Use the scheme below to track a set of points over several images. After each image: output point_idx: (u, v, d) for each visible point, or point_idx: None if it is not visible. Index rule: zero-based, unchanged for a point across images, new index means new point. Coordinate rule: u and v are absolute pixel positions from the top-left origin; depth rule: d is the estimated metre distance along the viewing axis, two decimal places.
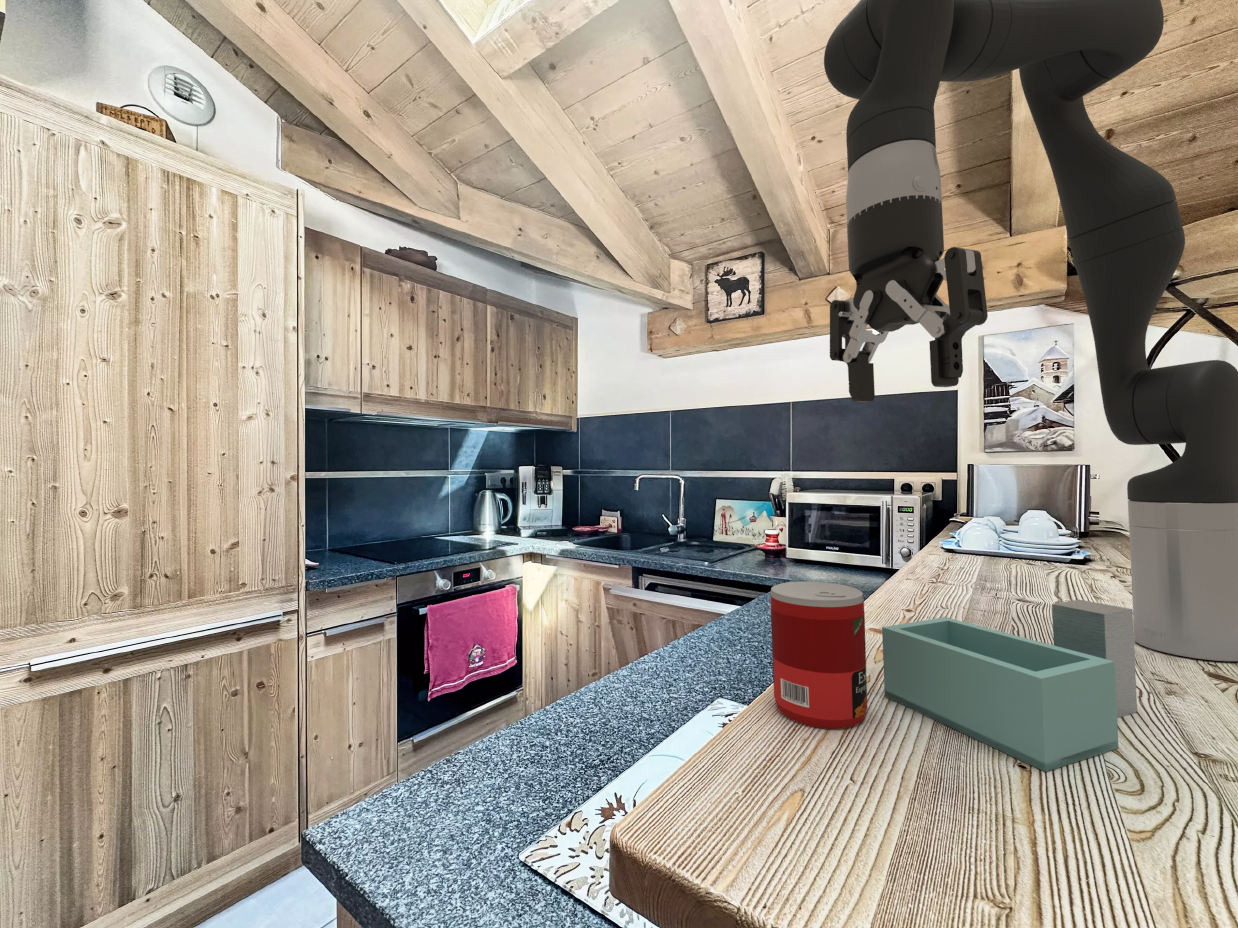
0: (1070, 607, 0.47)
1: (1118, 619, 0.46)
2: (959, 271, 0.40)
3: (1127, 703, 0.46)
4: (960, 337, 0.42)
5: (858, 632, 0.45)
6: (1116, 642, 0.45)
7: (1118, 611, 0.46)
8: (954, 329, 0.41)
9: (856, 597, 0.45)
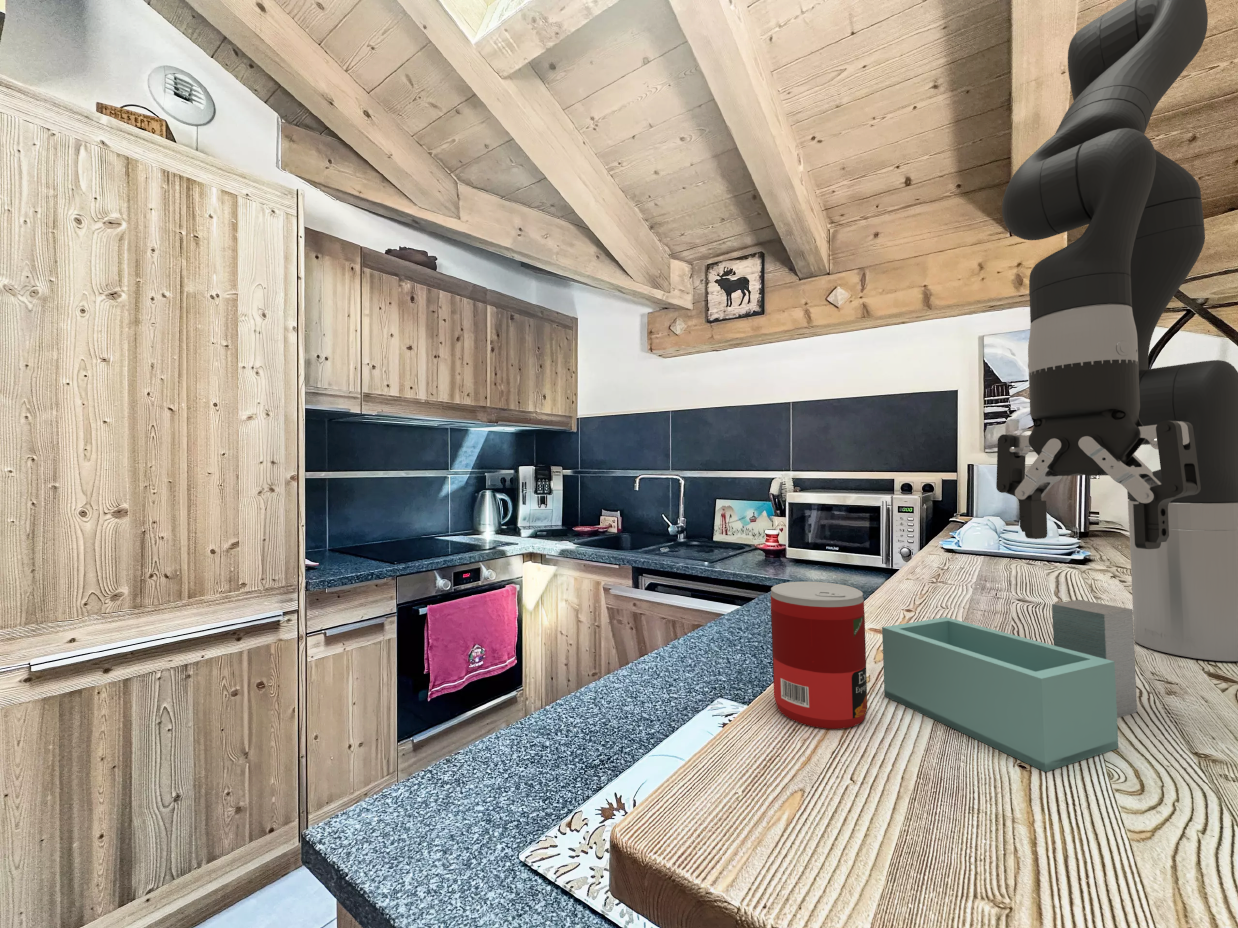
0: (1070, 607, 0.47)
1: (1118, 619, 0.46)
2: (1176, 446, 0.41)
3: (1127, 703, 0.46)
4: (1167, 503, 0.43)
5: (858, 632, 0.45)
6: (1116, 642, 0.45)
7: (1118, 611, 0.46)
8: (1165, 498, 0.42)
9: (856, 597, 0.45)
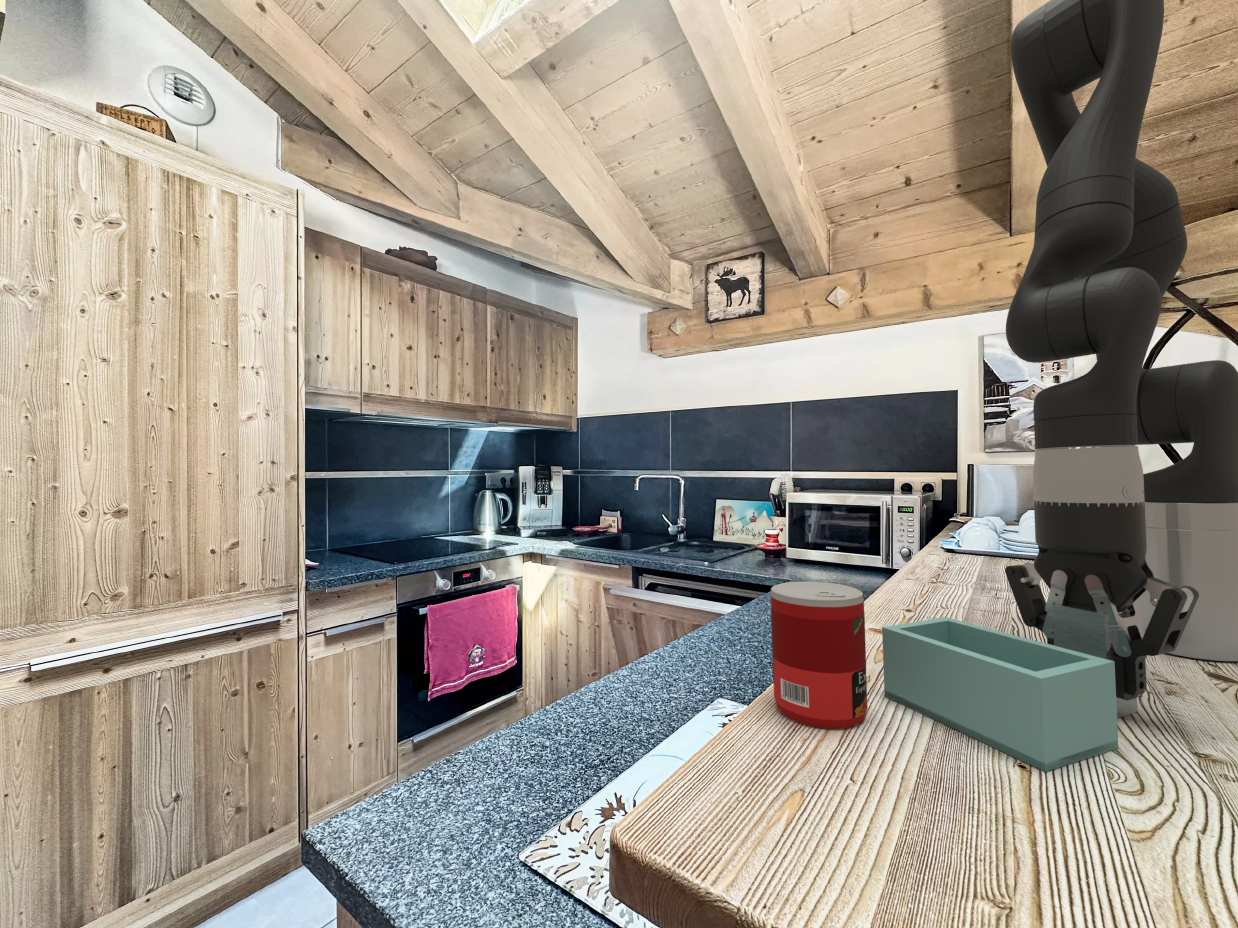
0: (1070, 607, 0.47)
1: None
2: (1172, 616, 0.41)
3: (1127, 703, 0.46)
4: (1144, 657, 0.44)
5: (858, 632, 0.45)
6: None
7: None
8: (1142, 655, 0.43)
9: (856, 597, 0.45)
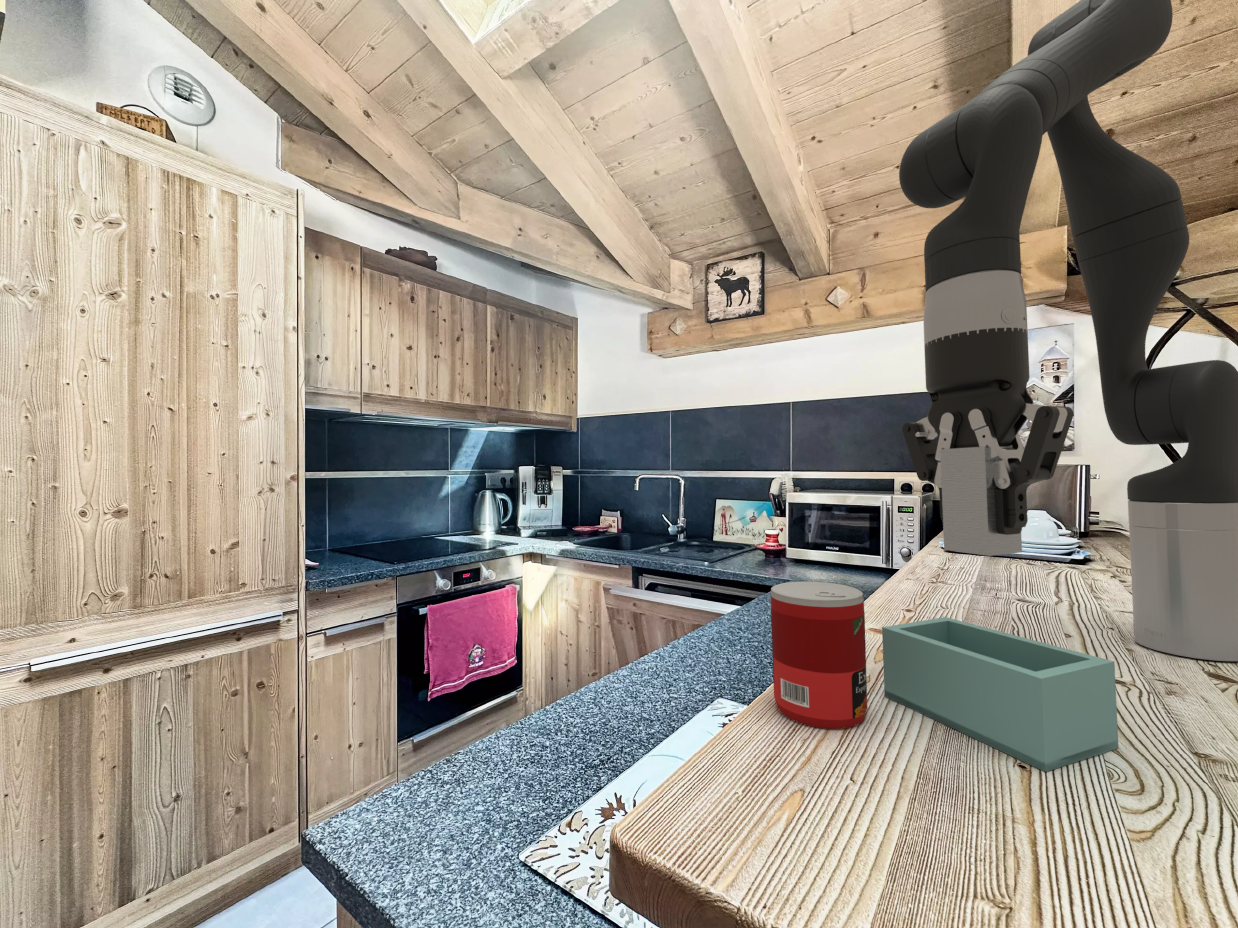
0: None
1: None
2: (1045, 434, 0.40)
3: (1010, 541, 0.44)
4: (1025, 488, 0.43)
5: (858, 632, 0.45)
6: None
7: None
8: (1020, 483, 0.42)
9: (856, 597, 0.45)
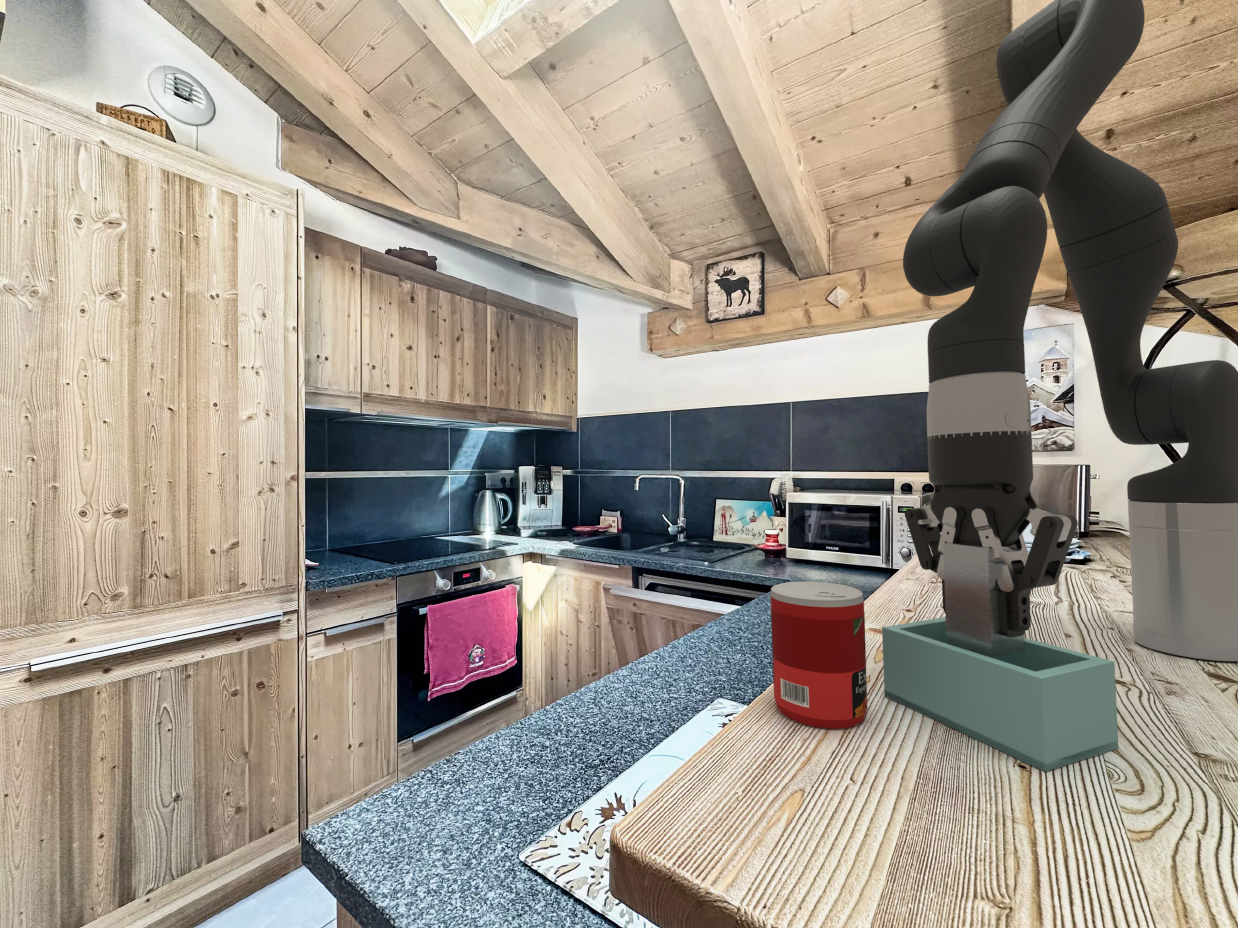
0: (959, 544, 0.46)
1: None
2: (1048, 544, 0.40)
3: (1013, 642, 0.44)
4: (1028, 592, 0.43)
5: (858, 632, 0.45)
6: None
7: None
8: (1024, 588, 0.42)
9: (856, 597, 0.45)
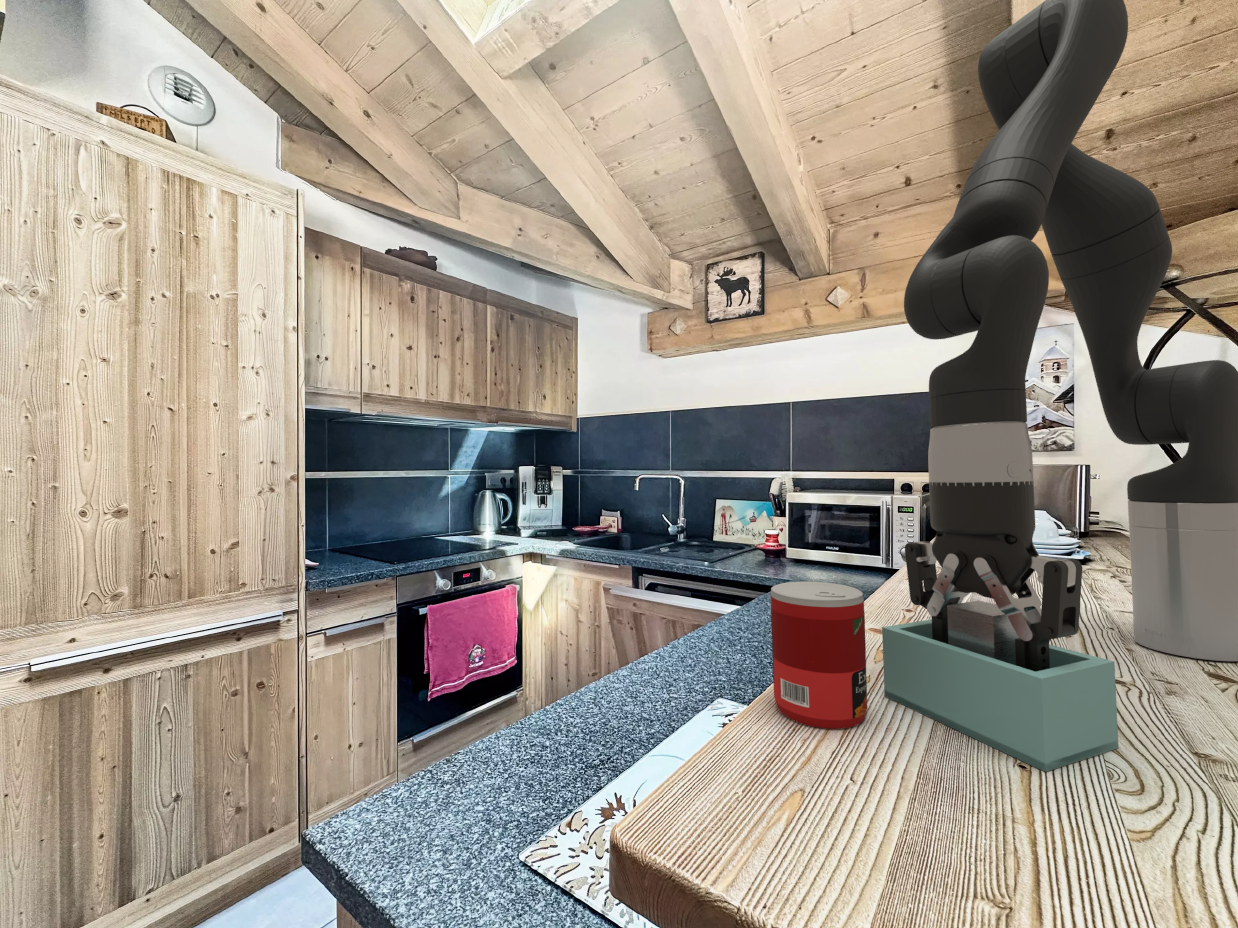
0: (963, 608, 0.45)
1: (1009, 621, 0.44)
2: (1058, 590, 0.39)
3: None
4: (1048, 641, 0.41)
5: (858, 632, 0.45)
6: (1006, 645, 0.43)
7: None
8: (1043, 638, 0.41)
9: (856, 597, 0.45)
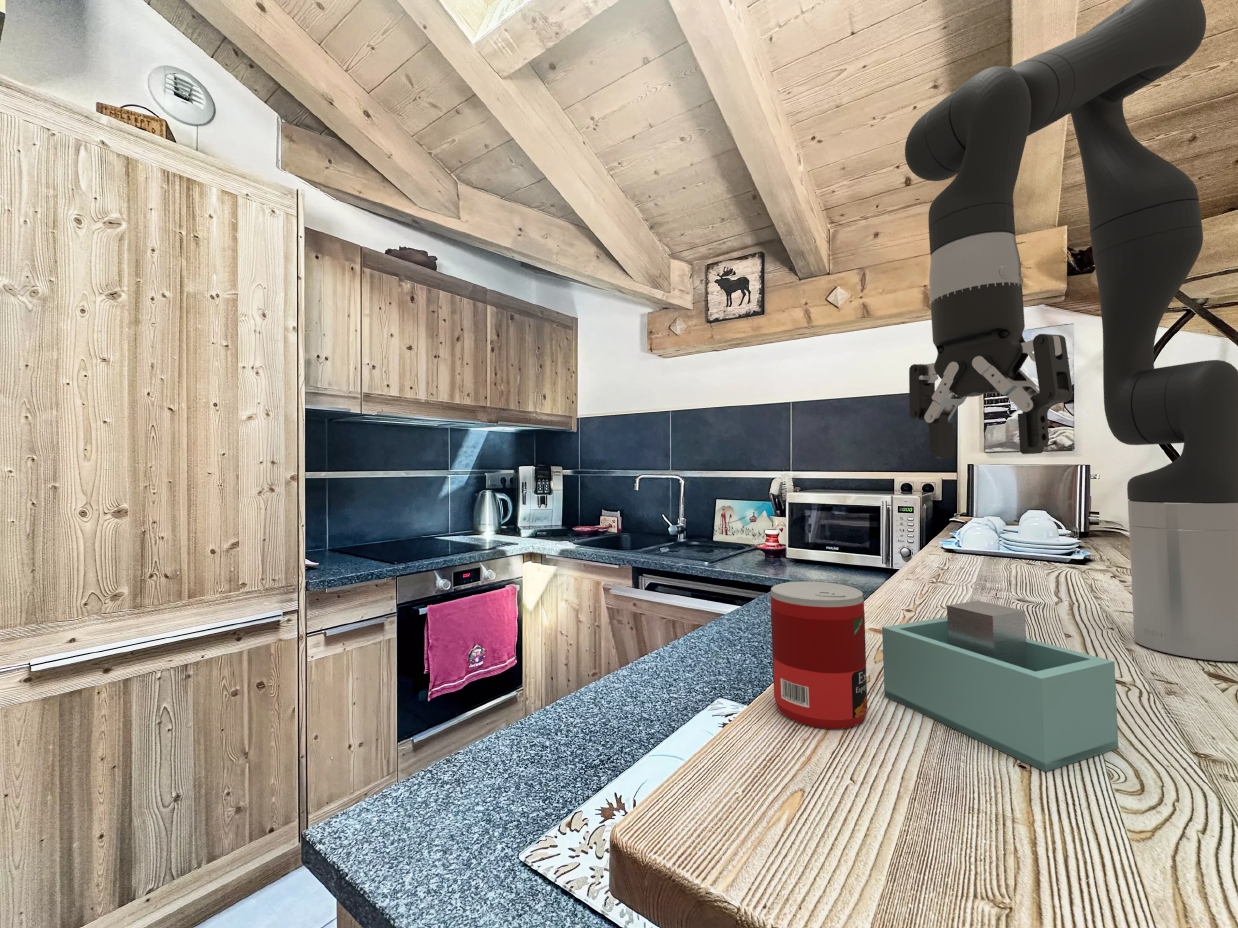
0: (963, 608, 0.45)
1: (1009, 621, 0.44)
2: (1048, 356, 0.45)
3: None
4: (1046, 411, 0.47)
5: (858, 632, 0.45)
6: (1006, 645, 0.43)
7: (1009, 613, 0.44)
8: (1042, 405, 0.46)
9: (856, 597, 0.45)
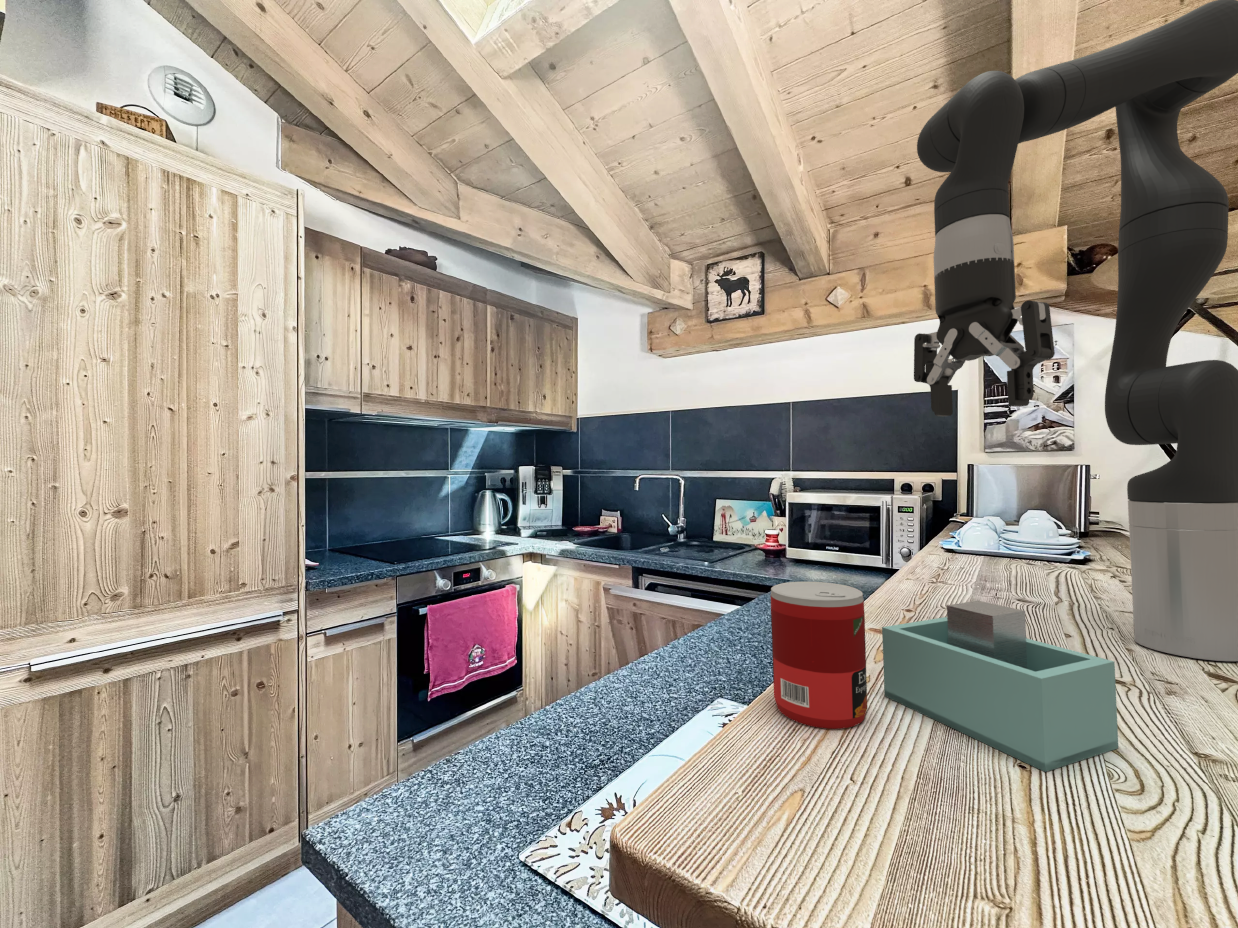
0: (963, 608, 0.45)
1: (1009, 621, 0.44)
2: (1034, 319, 0.52)
3: None
4: (1032, 368, 0.54)
5: (858, 632, 0.45)
6: (1006, 645, 0.43)
7: (1009, 613, 0.44)
8: (1028, 363, 0.53)
9: (856, 597, 0.45)
